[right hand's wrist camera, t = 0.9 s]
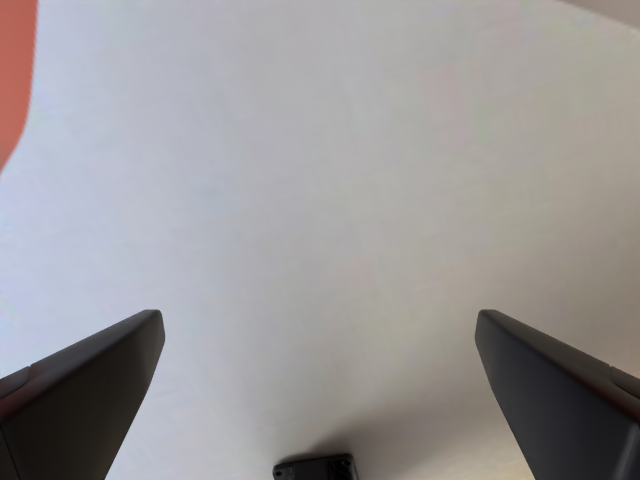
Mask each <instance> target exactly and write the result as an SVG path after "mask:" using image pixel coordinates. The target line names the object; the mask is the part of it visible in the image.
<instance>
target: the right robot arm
mask: <svg viewBox="0 0 640 480" xmlns="http://www.w3.org/2000/svg"><path fill="white" fill-rule="evenodd" d="M164 343H165V331H164V325H163V318H162V314H161V312H160V311H159V310H143V311H141V312H139V313H137V314H135V315H133V316H131V317H129V318H127V319H125V320H123V321H120V322H118V323H116V324H114V325H112V326H110V327H108V328H106V329H104V330H102V331H100V332H98V333H96V334H94V335H91V336H89V337H87V338H85V339H83V340H81V341H79V342H77V343H75V344H73V345H71V346H69V347H67V348H65V349H62V350H60V351H58V352H56V353H54V354H52V355H50V356H48V357H46V358H44V359H42V360H40V361H38V362H36V363H33V364H31V365H30V367H29V366H27V367H25V368H23V369H21V370H19V371H17V372H15V373H13V374H10V375H8V376H6V377H4V378H2V379H0V480H105V478H106V476H107V474H108V471H109V469H110V467H111V465H112V463H113V461H114V459H115V457H116V455H117V453H118V451H119V449H120V447H121V445H122V443H123V441H124V438H125V436H126V434H127V432H128V430H129V428H130V426H131V424H132V422H133V420H134V418H135V416H136V414H137V412H138V410H139V408H140V406H141V403H142V401H143V399H144V397H145V395H146V393H147V391H148V388H149V386H150V383H151V380H152V377H153V375H154V372H155V369H156V366H157V363H158V360H159V357H160V354H161V352H162V349H163V346H164ZM475 343H476V346H477V349H478V352H479V354H480V357H481V360H482V363H483V366H484V369H485V372H486V375H487V377H488V380H489V383H490V386H491V388H492V391H493V393H494V395H495V397H496V399H497V401H498V403H499V405H500V408H501V410H502V412H503V414H504V416H505V418H506V420H507V422H508V424H509V426H510V428H511V430H512V432H513V434H514V436H515V438H516V441H517V443H518V445H519V447H520V449H521V451H522V453H523V455H524V457H525V459H526V461H527V463H528V465H529V467H530V469H531V471H532V473H533V476H534V478H535V480H640V379H638V378H636V377H634V376H632V375H630V374H627V373H625V372H623V371H621V370H619V369H617V368H615V367H613V366H611V367H610V365H609V364H607V363H604V362H602V361H600V360H598V359H596V358H594V357H592V356H590V355H588V354H586V353H584V352H582V351H580V350H578V349H575V348H573V347H571V346H569V345H567V344H565V343H563V342H561V341H559V340H557V339H555V338H553V337H551V336H549V335H546V334H544V333H542V332H540V331H538V330H536V329H534V328H532V327H530V326H528V325H526V324H524V323H522V322H520V321H517V320H515V319H513V318H511V317H509V316H507V315H505V314H503V313H501V312H499V311H497V310H481V311H480V312H479V314H478V318H477V325H476V331H475ZM273 477H274V479H275V480H358V476H357V473H356V469H355V465H354V461H353V457H352V456H351V455H350V454H342V455H336V456H330V457H323V458H317V459H311V460H305V461H298V462H292V463H286V464H280V465H276V466H274V468H273Z"/></svg>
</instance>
